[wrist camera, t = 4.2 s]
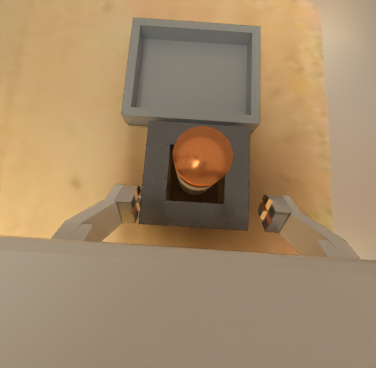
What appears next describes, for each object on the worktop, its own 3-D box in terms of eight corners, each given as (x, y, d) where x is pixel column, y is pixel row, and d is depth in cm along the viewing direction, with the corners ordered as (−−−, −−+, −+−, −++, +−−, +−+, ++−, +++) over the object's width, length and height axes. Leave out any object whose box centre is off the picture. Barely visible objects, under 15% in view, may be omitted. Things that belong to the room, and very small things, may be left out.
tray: (128, 124, 22) (121, 114, 19) (138, 37, 24) (133, 17, 21) (251, 133, 22) (259, 123, 19) (252, 45, 24) (260, 26, 21)
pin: (177, 193, 21) (170, 182, 11) (179, 162, 21) (174, 124, 11) (209, 195, 21) (232, 186, 11) (211, 164, 21) (233, 127, 11)
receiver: (146, 220, 20) (138, 223, 17) (154, 134, 22) (148, 120, 18) (237, 226, 20) (248, 230, 17) (239, 139, 22) (249, 127, 18)
